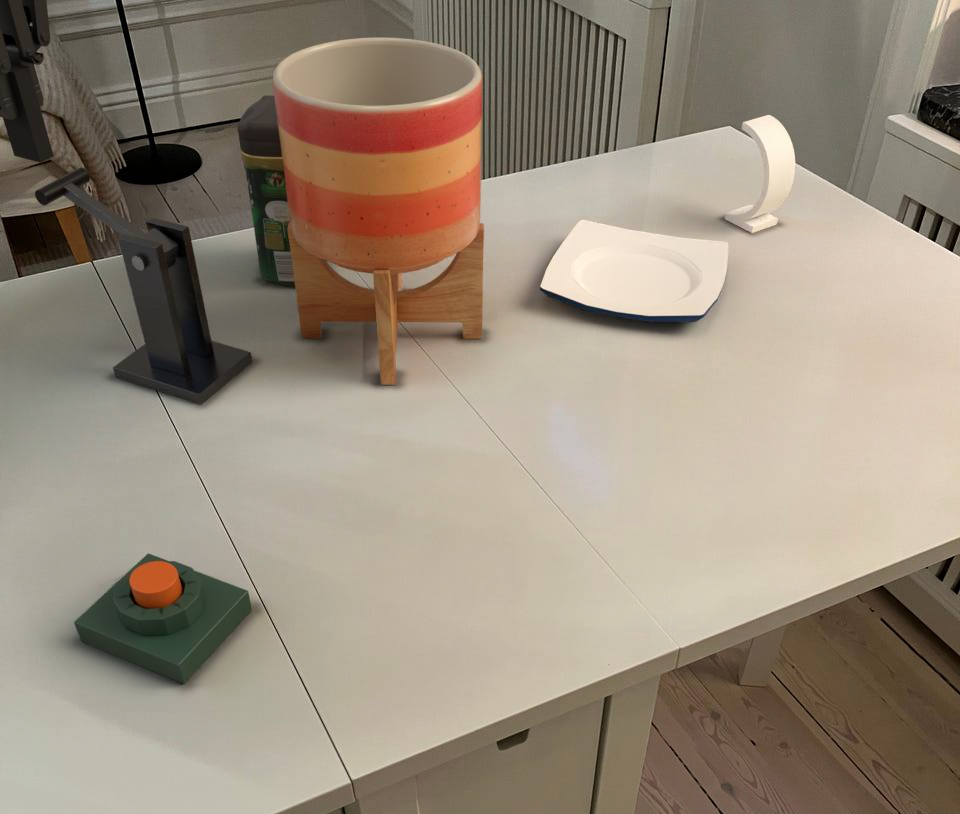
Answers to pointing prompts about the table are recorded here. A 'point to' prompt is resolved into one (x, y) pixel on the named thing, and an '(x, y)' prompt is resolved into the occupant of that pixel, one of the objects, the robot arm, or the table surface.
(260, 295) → the table surface
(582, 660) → the table surface
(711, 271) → the plate
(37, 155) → the robot arm
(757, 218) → the headphone stand
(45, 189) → the lever
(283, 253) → the coffee jar
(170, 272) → the bracket
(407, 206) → the planter
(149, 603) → the button
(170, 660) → the control block
